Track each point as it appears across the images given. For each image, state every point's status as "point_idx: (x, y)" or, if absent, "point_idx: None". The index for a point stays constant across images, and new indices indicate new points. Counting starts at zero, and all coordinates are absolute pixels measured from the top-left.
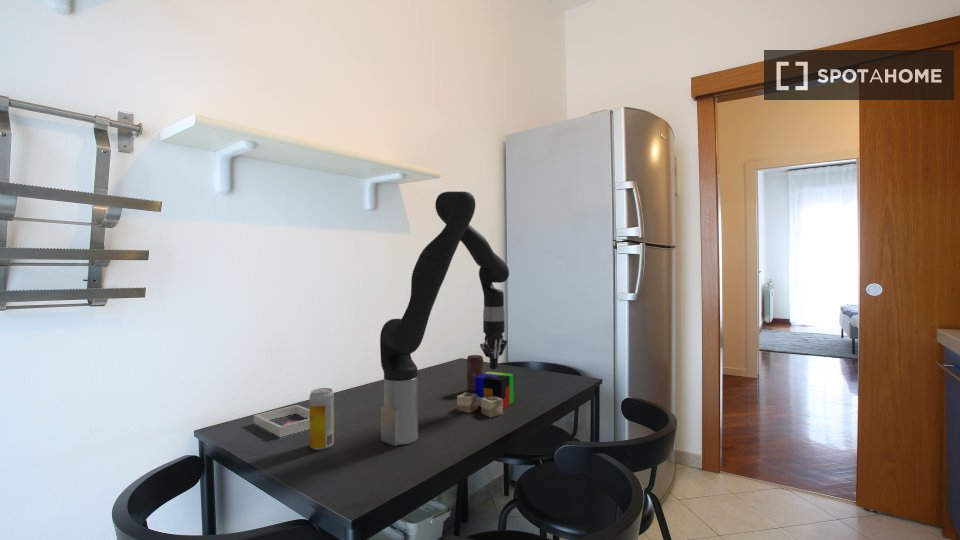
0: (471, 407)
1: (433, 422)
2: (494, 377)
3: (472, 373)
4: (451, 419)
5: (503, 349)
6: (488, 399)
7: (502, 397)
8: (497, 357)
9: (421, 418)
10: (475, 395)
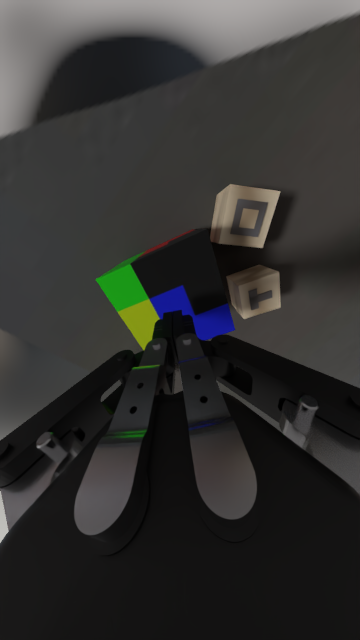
0: (257, 269)
1: (348, 266)
2: (191, 287)
3: None
4: (316, 256)
5: (83, 383)
6: (262, 219)
7: (189, 232)
8: (163, 339)
9: (335, 301)
10: (248, 282)
